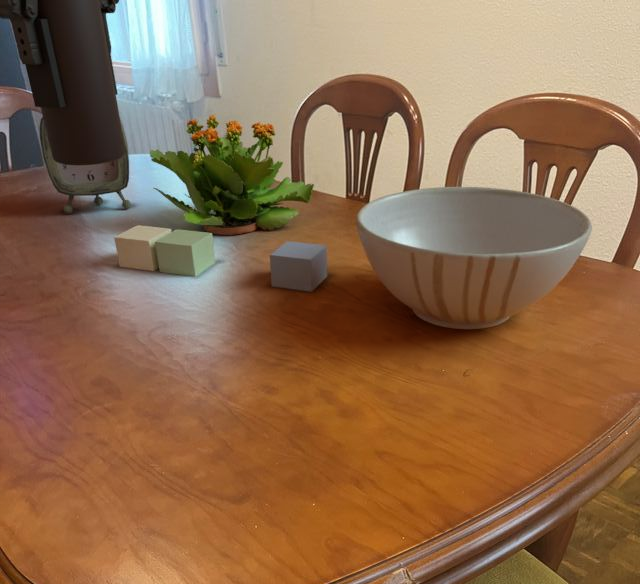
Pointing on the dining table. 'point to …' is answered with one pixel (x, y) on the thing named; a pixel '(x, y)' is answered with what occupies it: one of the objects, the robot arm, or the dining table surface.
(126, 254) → the cream block
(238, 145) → the potted flower
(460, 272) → the decorative bowl
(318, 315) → the dining table surface
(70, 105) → the dark brown bottle
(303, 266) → the slate block
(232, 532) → the dining table surface
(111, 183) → the tabletop clock
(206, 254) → the sage block
